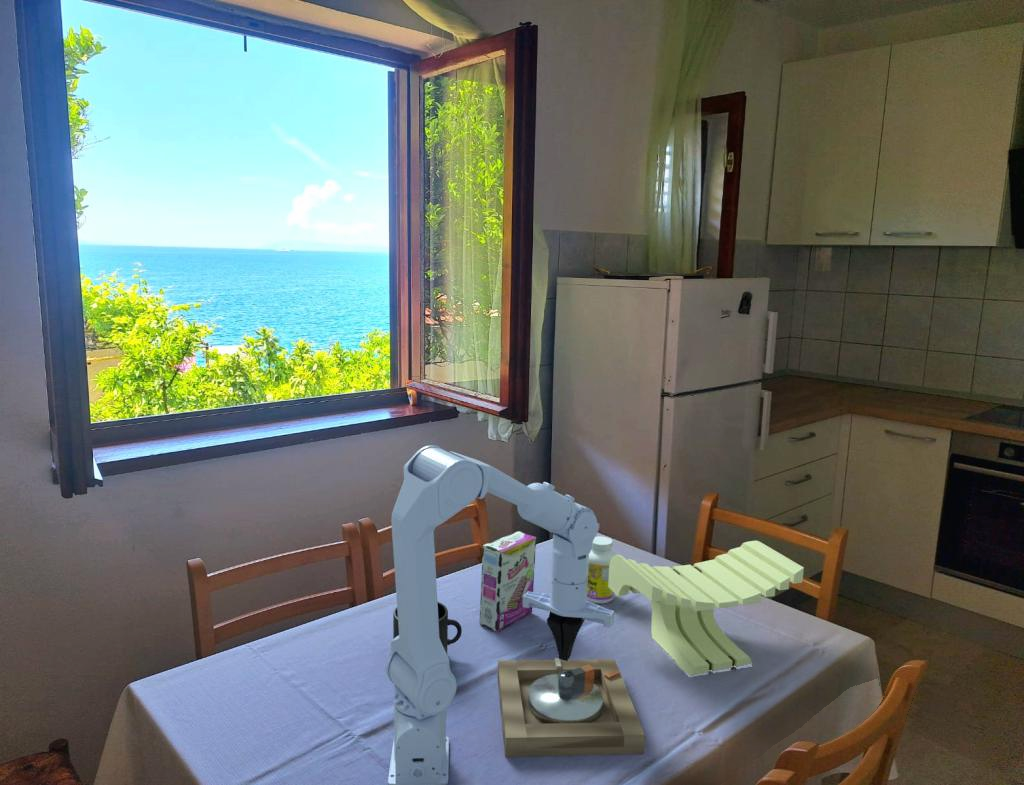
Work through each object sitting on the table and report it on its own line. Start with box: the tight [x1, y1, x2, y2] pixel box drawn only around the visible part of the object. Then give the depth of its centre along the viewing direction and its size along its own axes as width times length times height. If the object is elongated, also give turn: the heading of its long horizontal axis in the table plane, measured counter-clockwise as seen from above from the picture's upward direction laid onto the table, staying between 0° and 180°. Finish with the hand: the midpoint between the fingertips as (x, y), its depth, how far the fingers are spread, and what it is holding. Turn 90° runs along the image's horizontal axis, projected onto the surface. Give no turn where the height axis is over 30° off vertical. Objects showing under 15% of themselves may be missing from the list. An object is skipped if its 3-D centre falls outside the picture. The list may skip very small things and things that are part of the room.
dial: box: [528, 664, 603, 724], centre depth 111 cm, size 12×12×5 cm
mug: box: [392, 601, 463, 655], centre depth 124 cm, size 9×12×9 cm
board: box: [496, 657, 646, 758], centre depth 111 cm, size 20×20×4 cm
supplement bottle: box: [586, 535, 617, 605], centre depth 149 cm, size 7×7×13 cm
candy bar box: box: [479, 530, 537, 633], centre depth 139 cm, size 11×5×16 cm, turn 141°
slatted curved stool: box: [608, 540, 805, 676], centre depth 130 cm, size 30×16×18 cm, turn 108°
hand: (564, 657), depth 113 cm, fingers closed
